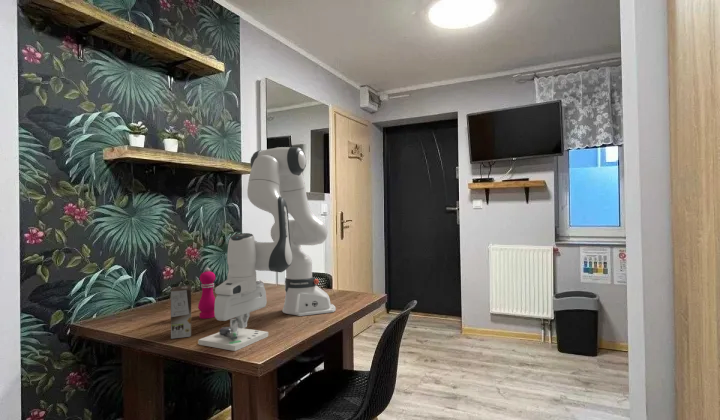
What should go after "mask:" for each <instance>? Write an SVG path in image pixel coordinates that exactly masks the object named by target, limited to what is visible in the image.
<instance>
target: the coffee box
mask: <svg viewBox="0 0 720 420" xmlns="http://www.w3.org/2000/svg"><path fill="white" fill-rule="evenodd" d="M190 337H192V285H180V286H172V287H171V289H170V339H171V340H172V339H180V338H181V339H182V338H190Z"/></svg>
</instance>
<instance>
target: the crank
mask: <svg viewBox="0 0 720 420" xmlns="http://www.w3.org/2000/svg"><path fill="white" fill-rule="evenodd" d="M238 328H239V327H238V319H236V318H232V319H229V326H224V327H219V331H218V332H219V334H220V335H226V336H228V337H229V338H230V339H231V340H233V339H237V336H238Z"/></svg>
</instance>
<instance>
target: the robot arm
mask: <svg viewBox="0 0 720 420" xmlns="http://www.w3.org/2000/svg"><path fill="white" fill-rule="evenodd" d="M250 157H251V158H250V160H249V161H250V168H251V169H250V172H249V175H248V176H249V177H248V184H247V189H246V190H247V198H248V200H249V202H250V203H251V204H252V205H253V206H254V207H256V208H258V209H260V210H262V211H265V212H267V213H269V214H271V215H272V217H273V219H274V222H273V224H272V226H271V228H270V237H271V240H272V241H273V242H266V241H265V242H263V241H262V242H261V241H257V240H255V237H254V234H252V233H251V232H250V233H249V232H244V233H243V232H242V233H236V234H233V235H231V236H230V237H229V240H228V246H227V253H226V254H227V256H226V257H227V258H226V259H227V265H228V266H227V267H228V273H227V279H226V280H225V281H223V282H222V283H220V284H219V285H217V286H216V287H215V288H214V293H215V294H216V297H215V307H214V312H215V317H214V318H215V319H216V320H217V321H220V322H221V321H223V322H225V321H228V320H229V321H230V320H231V319H238V328H240V329H242V328H245V329H246V328H247V327H248V321H249V318H250V316H251V314H250V313H252V312H255V311H258V310H260V309H264V308H266V306H267V303H268V302H267V292H266V289H265V284H264V282H263V281H262V280H261V279H257V271H258V272H259V271H262V272H263V271H264V272H276V273H283V272H285V278H284V290H285V296H284V297H285V298H284V303H283V308H282V312H283V313H284V314H285V315H286V314H287V315H294V316H299V317H301V316H302V317H304V316H310V315H311V316H312V315H319V314H328V313H334V312H335V311H337V310H336V309H337V307H336V306H335V305H334V304H333V303H331V300H330V296H329V294H328V293H327V291H325V290H323V289H322V288H320V287H319V286H318V284H319V282H320V281H319V279H318V278H316V277H314V276H313V261H312V258H311V257H310V256H309V255H308V254H306V253H305V252H304V251H303V249H302V248H301V246H317V245H320V244H323V243H324V242H325V241H326V239H327V237H328V228H327V225H326V223H324V221H322V220H321V219H319V218H318V217H317V216H316V215H315V214H314V212H313V211H312V209H311V207H310V205H309V199H308V196H307V195H308V194H307V189H306V182H305V179H304V175H303V172H304V171H305V168H306V166H307V157H306V153H305V151H304V150H303V149H302V148H300V147H299V146H298V147H297V146H290V147H289V146H287V147H286V146H284V147H283V146H281V147H279V146H277V147H274V148H267V149H260V150H257V151H255V152H254V153H253V154H252V156H250ZM289 215H290V216H291V217H292V218H293V219H289Z"/></svg>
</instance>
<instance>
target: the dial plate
mask: <svg viewBox="0 0 720 420" xmlns="http://www.w3.org/2000/svg"><path fill="white" fill-rule="evenodd" d="M267 337H269V331H263V330H257V329H251V328H246V327H245V328H242V329H240V328H239V327H238V336H237V339H233V340H231V339H230V338H229V337H228V336H226V335H220V334H219V331H218V332H216V333H213V334H210V335H207V336H205V337H201V338H200V339H197V342H198V343H197V344H198V345H200V346H206V347H212V348H217V349H221V350H228V351H233V352H236V351H239V350H240V349H241V350H242V349H243V348H245V347H247V346H250V345H252V344H255V343H256V342H259V341H260V340H264V339H266V338H267Z"/></svg>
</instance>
